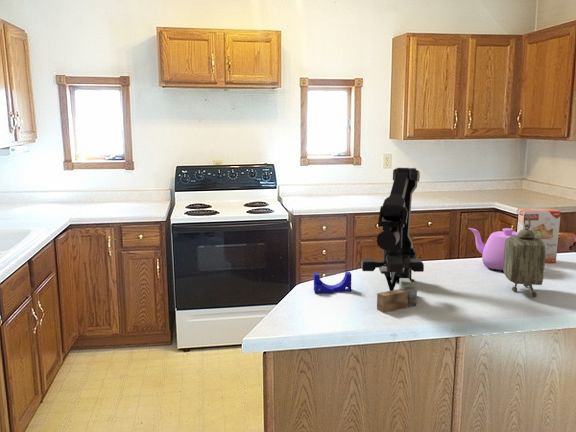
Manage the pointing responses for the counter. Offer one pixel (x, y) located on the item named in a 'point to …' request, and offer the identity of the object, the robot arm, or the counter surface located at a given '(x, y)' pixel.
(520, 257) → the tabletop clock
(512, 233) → the teapot
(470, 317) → the counter surface
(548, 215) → the cracker box
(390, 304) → the hinge base
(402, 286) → the hinge leaf
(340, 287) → the cable clip
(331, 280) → the counter surface
